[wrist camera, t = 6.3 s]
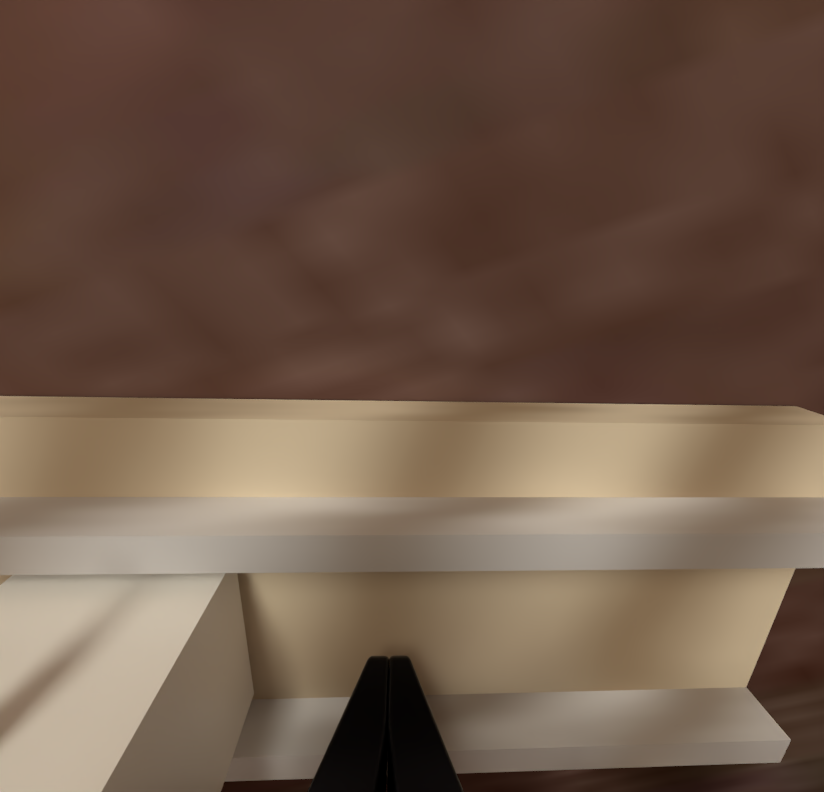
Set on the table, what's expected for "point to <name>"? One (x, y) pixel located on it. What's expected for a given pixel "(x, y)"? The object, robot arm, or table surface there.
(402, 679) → the robot arm
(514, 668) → the board
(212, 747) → the tuning slider
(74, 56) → the table surface
